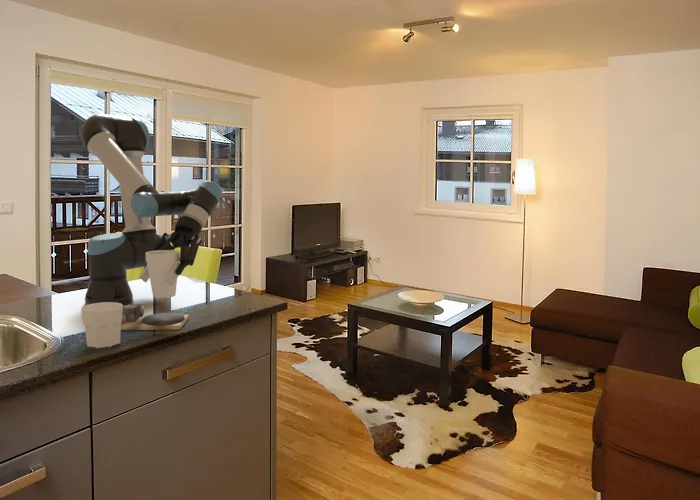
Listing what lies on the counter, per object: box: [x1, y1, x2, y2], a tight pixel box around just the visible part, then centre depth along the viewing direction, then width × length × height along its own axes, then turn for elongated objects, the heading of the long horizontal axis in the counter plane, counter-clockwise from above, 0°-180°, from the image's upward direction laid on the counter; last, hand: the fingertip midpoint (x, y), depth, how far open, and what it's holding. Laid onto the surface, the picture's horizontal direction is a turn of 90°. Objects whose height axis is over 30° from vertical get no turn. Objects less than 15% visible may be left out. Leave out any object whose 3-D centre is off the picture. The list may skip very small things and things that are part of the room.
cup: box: [80, 302, 124, 349], centre depth 144 cm, size 10×10×10 cm
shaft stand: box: [121, 303, 189, 331], centre depth 163 cm, size 22×12×6 cm, turn 95°
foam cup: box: [145, 249, 180, 299], centre depth 161 cm, size 10×9×13 cm
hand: (155, 281), depth 158 cm, fingers closed on foam cup, 9 cm apart
